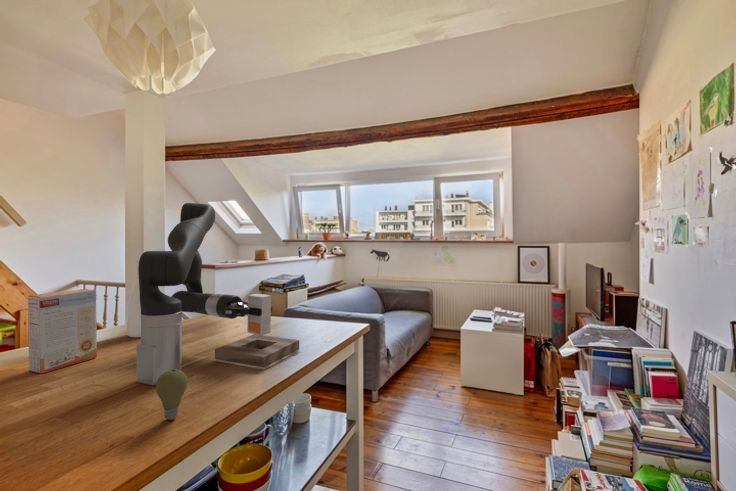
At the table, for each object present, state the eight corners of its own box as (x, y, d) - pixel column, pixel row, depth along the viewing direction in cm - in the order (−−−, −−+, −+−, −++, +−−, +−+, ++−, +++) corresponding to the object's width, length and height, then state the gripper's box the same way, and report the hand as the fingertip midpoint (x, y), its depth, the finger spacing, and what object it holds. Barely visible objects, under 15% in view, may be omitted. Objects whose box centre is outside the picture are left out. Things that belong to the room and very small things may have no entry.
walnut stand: (264, 369, 96) (264, 357, 96) (214, 360, 103) (214, 348, 103) (299, 350, 113) (299, 340, 113) (254, 344, 120) (255, 334, 120)
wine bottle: (120, 337, 126) (120, 256, 125) (138, 331, 135) (138, 254, 135) (145, 338, 125) (146, 256, 125) (162, 331, 135) (162, 255, 134)
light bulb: (192, 412, 72) (192, 365, 72) (178, 426, 67) (178, 375, 67) (165, 412, 72) (165, 365, 72) (149, 426, 67) (149, 375, 66)
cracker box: (84, 355, 106) (84, 288, 106) (97, 358, 104) (97, 289, 104) (26, 371, 93) (26, 294, 93) (40, 374, 91) (40, 296, 91)
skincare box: (246, 333, 108) (247, 295, 107) (257, 330, 111) (257, 293, 111) (261, 336, 105) (261, 297, 105) (271, 332, 109) (271, 295, 108)
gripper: (206, 297, 106) (251, 302, 100) (239, 291, 120) (280, 295, 114) (206, 321, 107) (250, 328, 100) (239, 313, 120) (280, 318, 114)
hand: (266, 310), depth 107 cm, fingers closed on skincare box, 4 cm apart
